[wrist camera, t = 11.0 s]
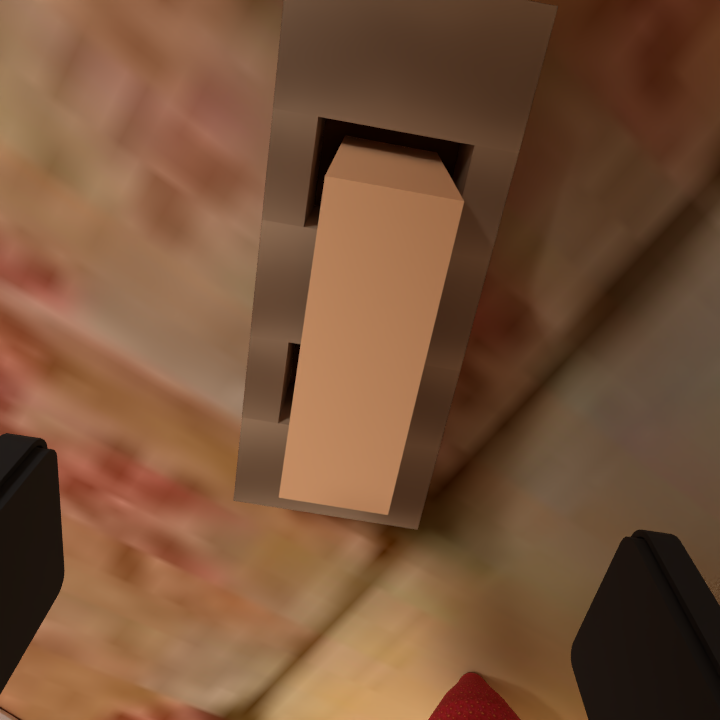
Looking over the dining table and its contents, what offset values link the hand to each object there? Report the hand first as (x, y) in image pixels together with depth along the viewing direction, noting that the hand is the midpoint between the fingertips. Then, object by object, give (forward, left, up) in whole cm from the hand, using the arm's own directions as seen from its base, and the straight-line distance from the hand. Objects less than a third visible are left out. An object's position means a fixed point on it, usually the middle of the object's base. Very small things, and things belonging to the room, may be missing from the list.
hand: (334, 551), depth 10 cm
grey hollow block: (0, 0, -17) cm, 17 cm away
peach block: (0, 0, -17) cm, 17 cm away
